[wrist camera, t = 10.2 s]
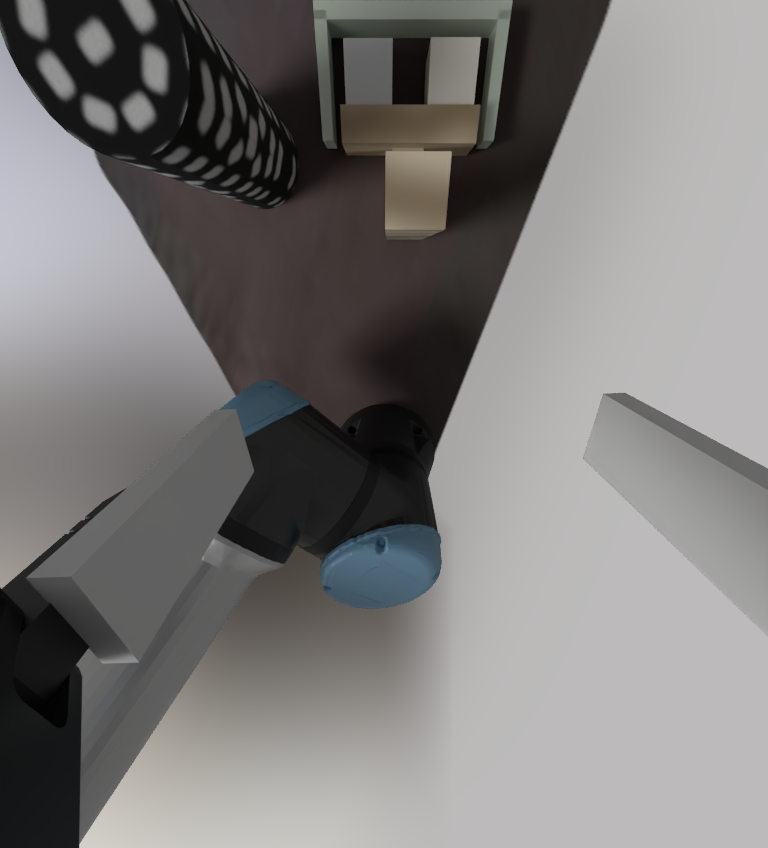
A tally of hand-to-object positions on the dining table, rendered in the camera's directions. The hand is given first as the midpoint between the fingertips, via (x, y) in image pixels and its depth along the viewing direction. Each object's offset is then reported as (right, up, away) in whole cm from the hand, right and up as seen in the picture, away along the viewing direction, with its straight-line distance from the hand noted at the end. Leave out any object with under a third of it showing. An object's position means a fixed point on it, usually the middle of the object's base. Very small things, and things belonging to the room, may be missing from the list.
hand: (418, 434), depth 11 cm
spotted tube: (-14, +28, +20) cm, 37 cm away
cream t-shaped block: (+1, +25, +21) cm, 33 cm away
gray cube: (-3, +32, +18) cm, 36 cm away
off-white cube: (+5, +32, +18) cm, 37 cm away
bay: (+1, +32, +17) cm, 36 cm away
